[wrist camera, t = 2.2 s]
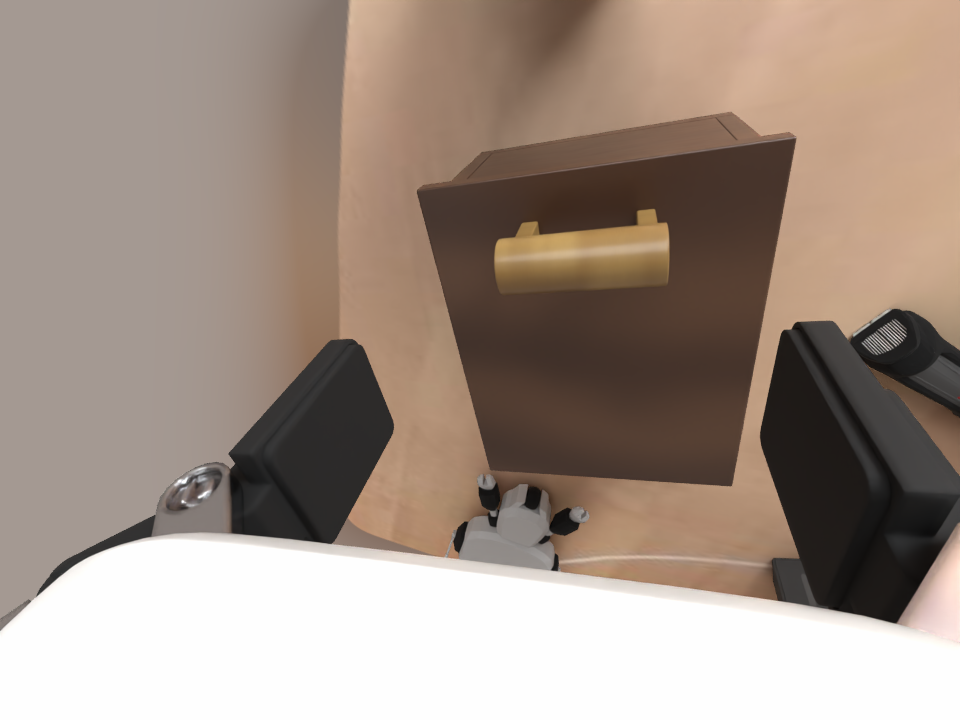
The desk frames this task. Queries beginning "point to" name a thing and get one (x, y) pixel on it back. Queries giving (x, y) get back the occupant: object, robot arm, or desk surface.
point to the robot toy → (515, 528)
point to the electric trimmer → (912, 355)
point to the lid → (613, 306)
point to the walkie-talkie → (792, 582)
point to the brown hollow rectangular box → (610, 145)
